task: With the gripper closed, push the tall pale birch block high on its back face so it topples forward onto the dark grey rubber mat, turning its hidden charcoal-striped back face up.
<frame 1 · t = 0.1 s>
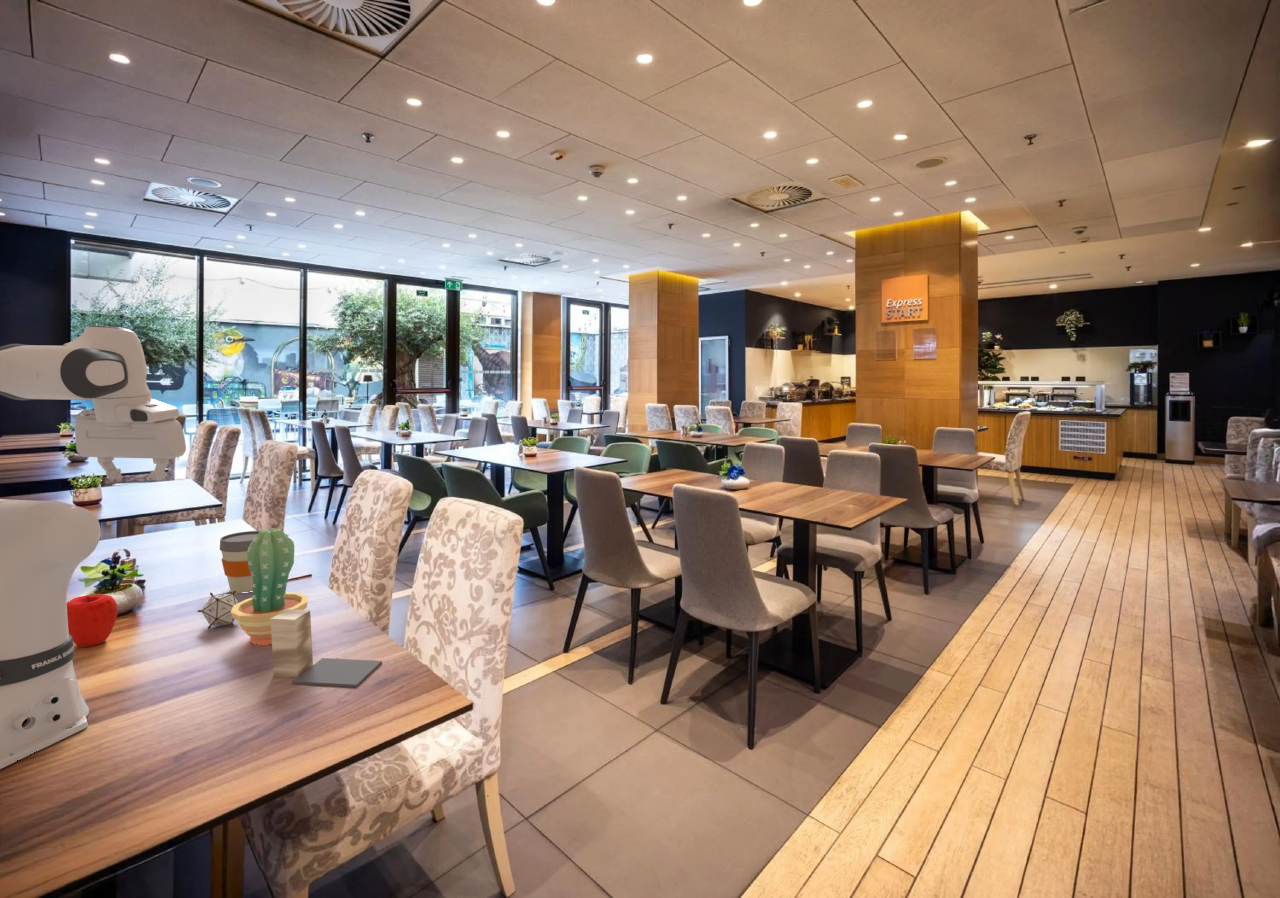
hand: (136, 478, 122), 39 cm above the table, tool pointing down, fingers open, 8 cm apart
apple: (93, 643, 135), on the table
game die: (223, 626, 146), on the table
reusable coffee cup: (249, 588, 171), on the table
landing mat: (338, 673, 123), on the table
potted cactus: (272, 637, 140), on the table
birch block: (293, 671, 124), on the table
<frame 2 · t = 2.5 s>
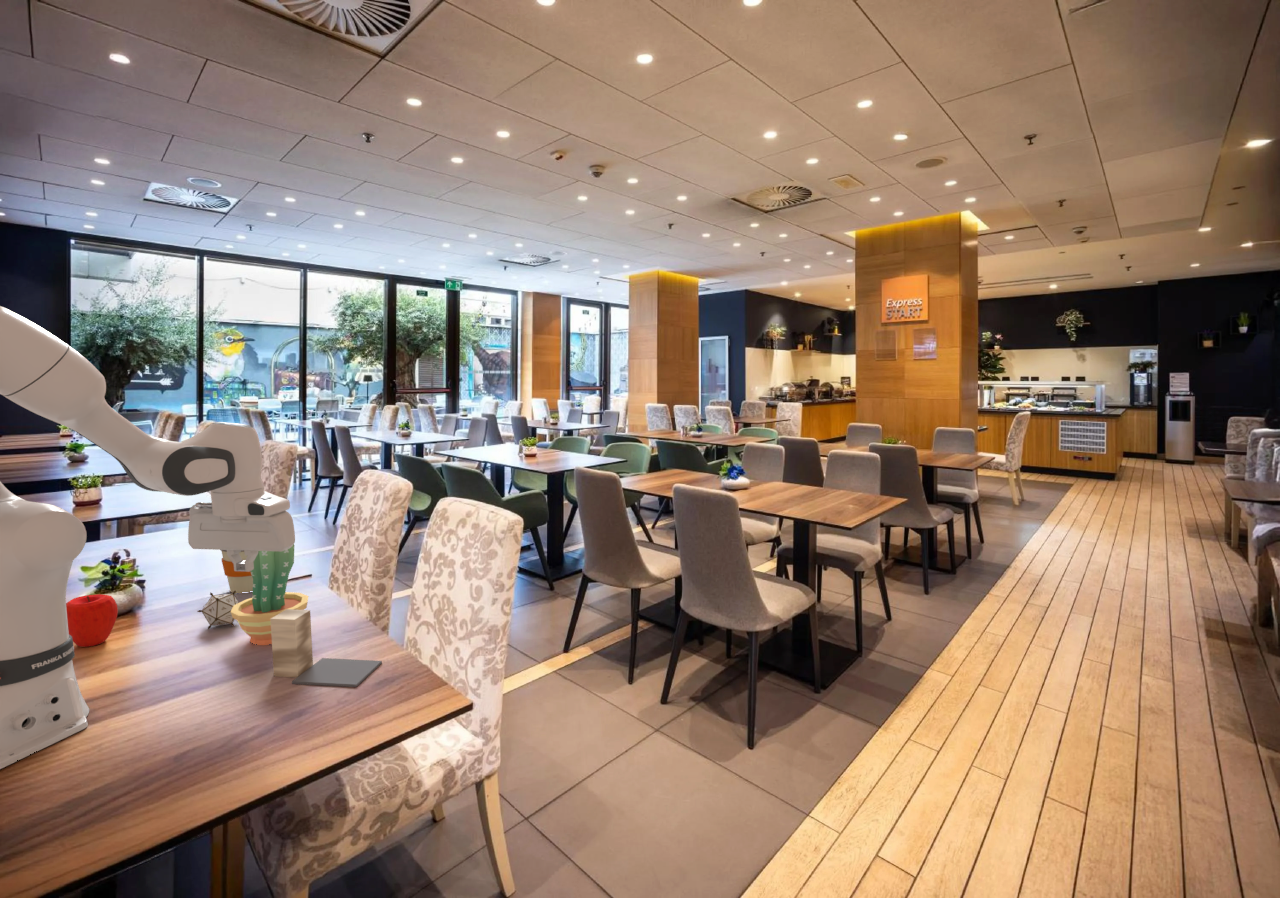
hand: (244, 570, 122), 21 cm above the table, tool pointing down, fingers closed
nothing on the table moved.
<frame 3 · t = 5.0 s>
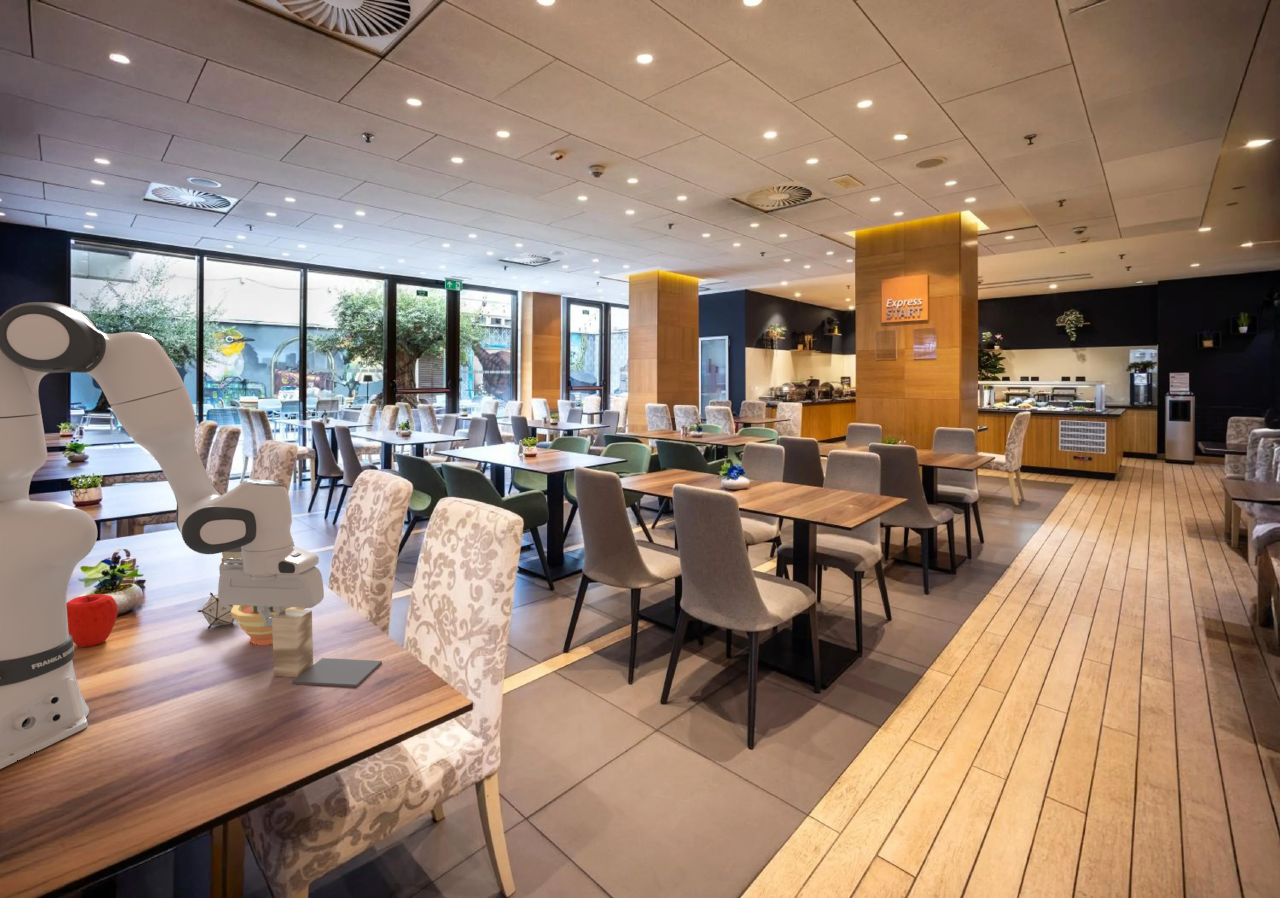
hand: (273, 625, 123), 9 cm above the table, tool pointing down, fingers closed
birch block: (293, 670, 124), on the table, touching gripper
everything else where it was.
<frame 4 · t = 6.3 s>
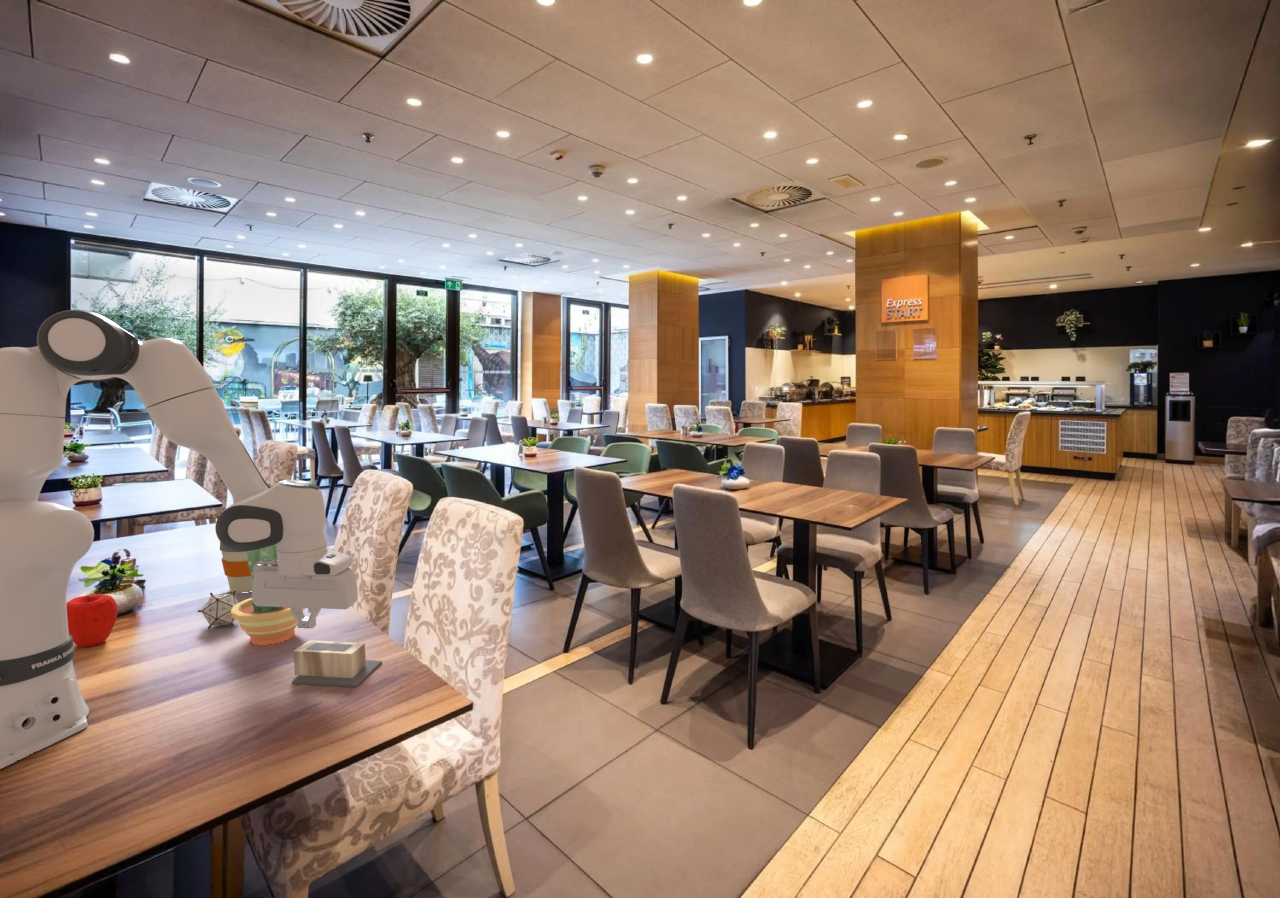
hand: (306, 627, 123), 9 cm above the table, tool pointing down, fingers closed
birch block: (302, 657, 123), point 3 cm above the table, tilted 90°, touching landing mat
everything else where it was.
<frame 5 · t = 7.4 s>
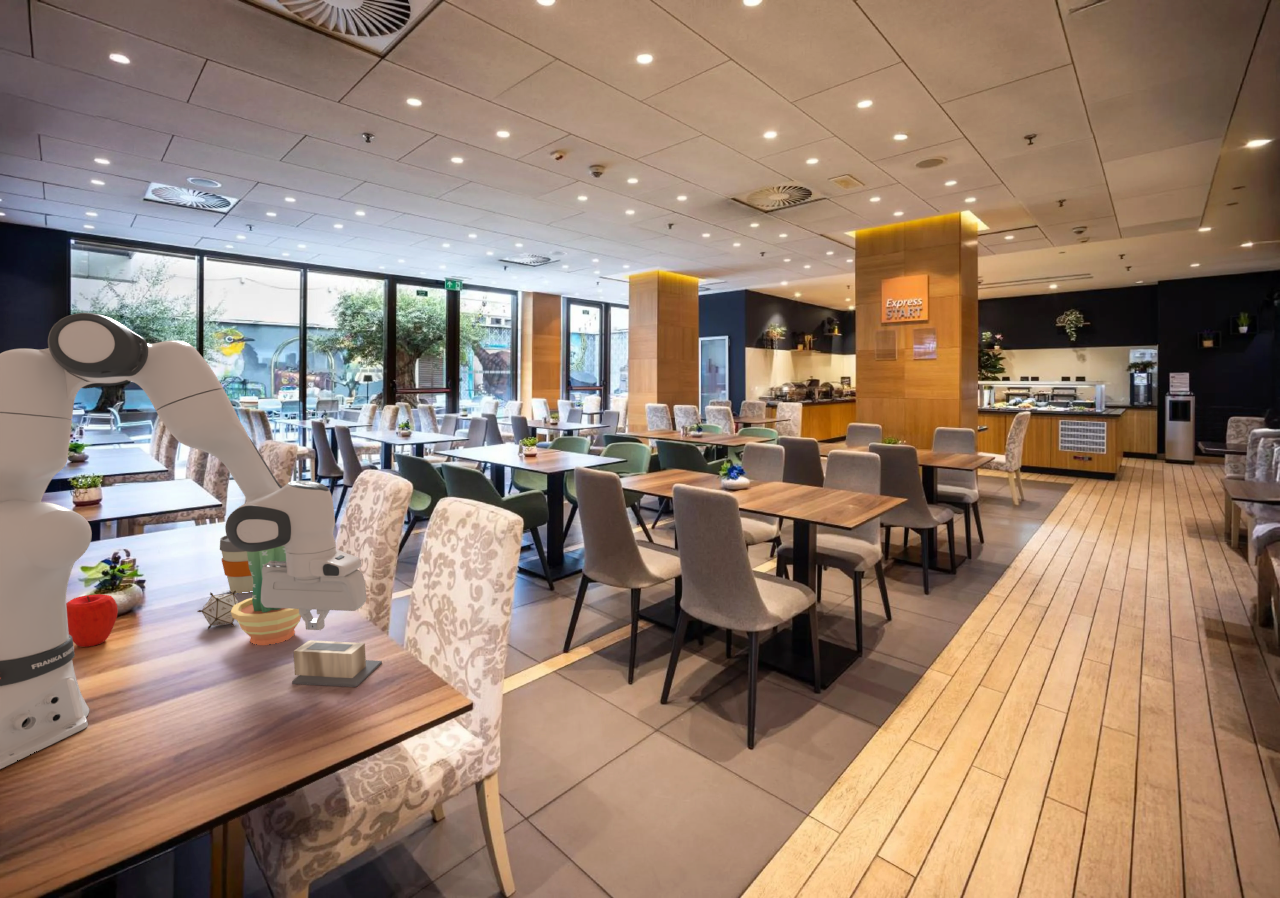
hand: (315, 628, 122), 9 cm above the table, tool pointing down, fingers closed
nothing on the table moved.
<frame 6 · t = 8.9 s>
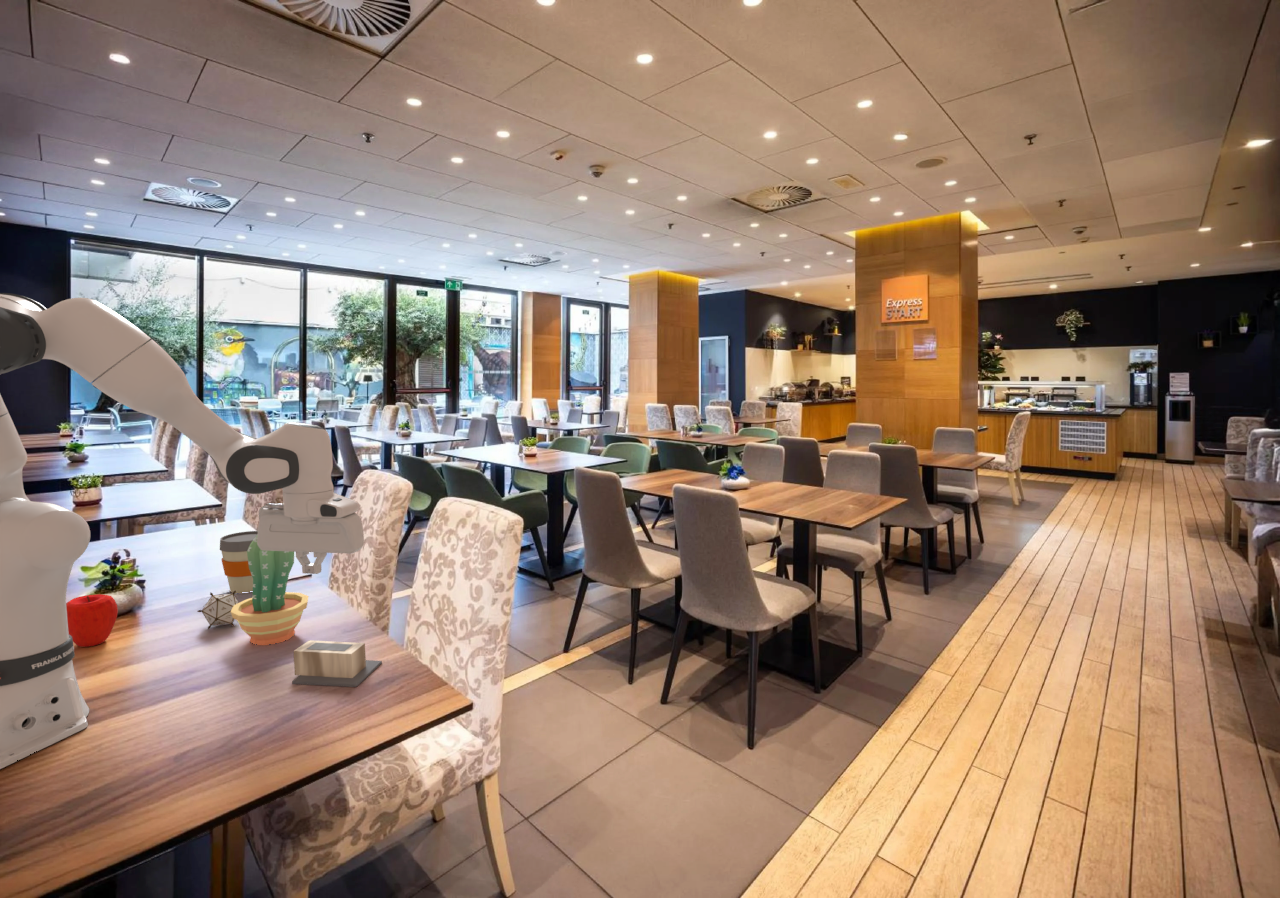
hand: (312, 572, 121), 21 cm above the table, tool pointing down, fingers closed
nothing on the table moved.
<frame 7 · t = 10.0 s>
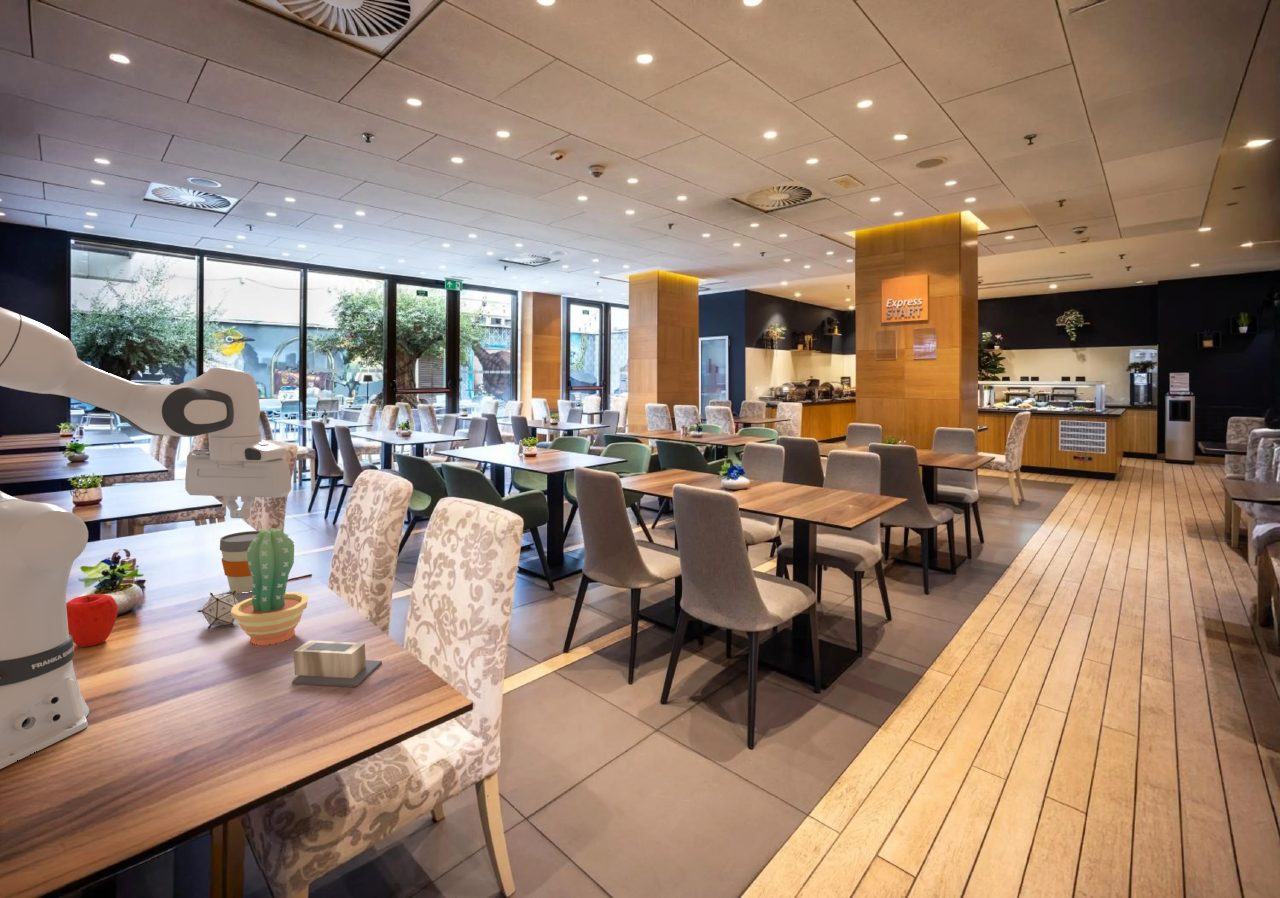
hand: (240, 517, 123), 31 cm above the table, tool pointing down, fingers closed
nothing on the table moved.
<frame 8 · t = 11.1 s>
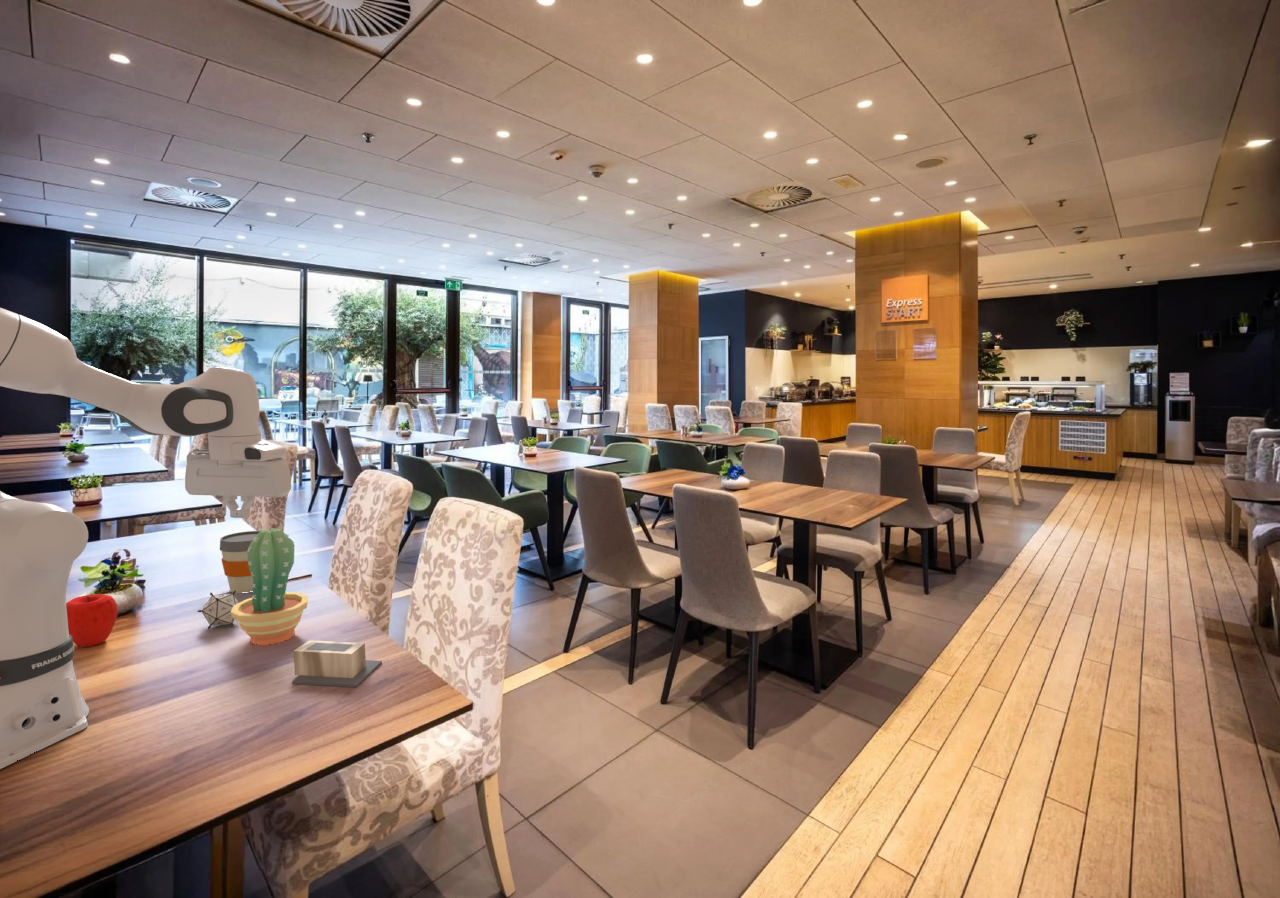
hand: (240, 517, 123), 31 cm above the table, tool pointing down, fingers closed
nothing on the table moved.
at the end: birch block tilted 90°; birch block inside the target area (7.1 cm from its centre), point 3.0 cm above the table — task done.
